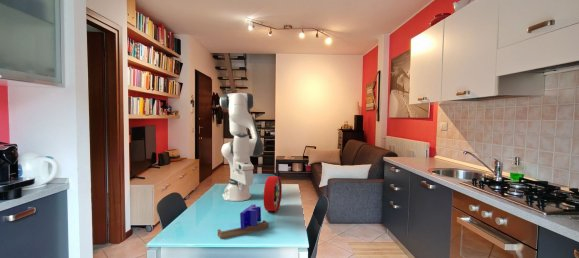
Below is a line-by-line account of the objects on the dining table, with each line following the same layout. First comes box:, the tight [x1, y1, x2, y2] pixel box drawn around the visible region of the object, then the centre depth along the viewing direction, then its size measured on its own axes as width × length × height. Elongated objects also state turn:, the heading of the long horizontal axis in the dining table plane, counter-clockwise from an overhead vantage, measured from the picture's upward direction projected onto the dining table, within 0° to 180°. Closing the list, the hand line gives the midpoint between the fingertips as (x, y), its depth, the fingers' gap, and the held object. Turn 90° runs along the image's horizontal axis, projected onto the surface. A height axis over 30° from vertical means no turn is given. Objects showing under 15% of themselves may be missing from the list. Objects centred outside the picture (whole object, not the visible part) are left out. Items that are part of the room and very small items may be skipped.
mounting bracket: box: [239, 203, 262, 229], centre depth 138 cm, size 18×7×6 cm
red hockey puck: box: [262, 175, 283, 212], centre depth 167 cm, size 20×6×20 cm, turn 168°
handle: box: [217, 220, 269, 240], centre depth 133 cm, size 4×24×4 cm, turn 122°
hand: (241, 190), depth 148 cm, fingers closed
